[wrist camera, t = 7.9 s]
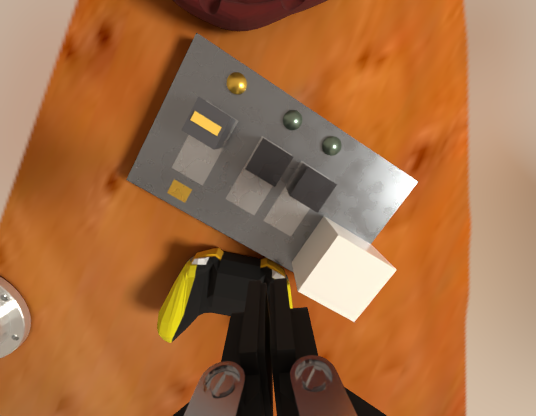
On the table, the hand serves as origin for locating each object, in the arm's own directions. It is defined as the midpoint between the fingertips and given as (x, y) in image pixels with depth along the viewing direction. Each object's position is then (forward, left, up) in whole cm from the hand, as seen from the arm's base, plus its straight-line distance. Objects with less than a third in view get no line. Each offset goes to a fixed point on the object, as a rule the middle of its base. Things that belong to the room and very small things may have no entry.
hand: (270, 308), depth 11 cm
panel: (-1, +3, -18) cm, 18 cm away
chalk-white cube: (+8, 0, -16) cm, 18 cm away
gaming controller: (+2, -11, -18) cm, 21 cm away
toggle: (-9, +5, -16) cm, 18 cm away
